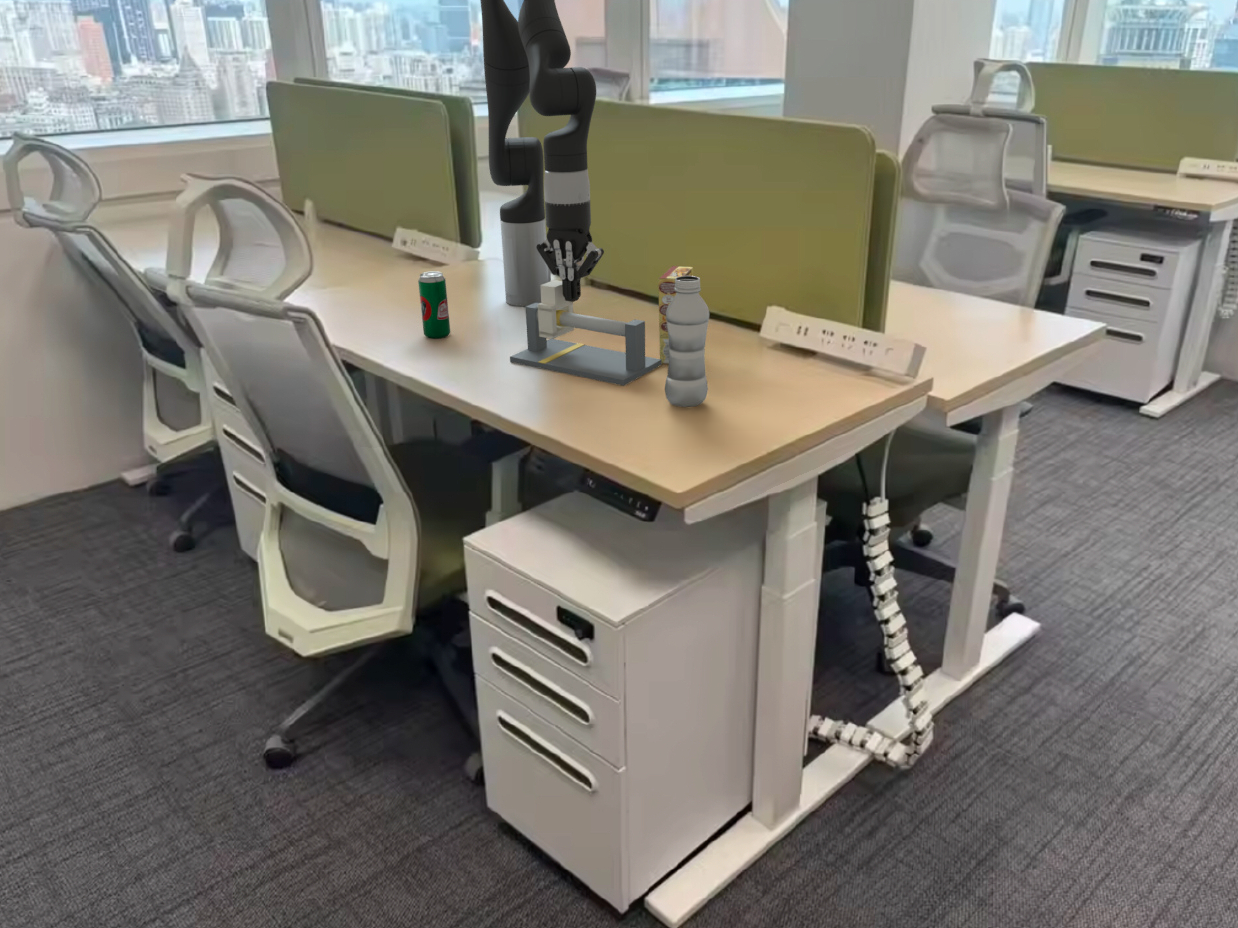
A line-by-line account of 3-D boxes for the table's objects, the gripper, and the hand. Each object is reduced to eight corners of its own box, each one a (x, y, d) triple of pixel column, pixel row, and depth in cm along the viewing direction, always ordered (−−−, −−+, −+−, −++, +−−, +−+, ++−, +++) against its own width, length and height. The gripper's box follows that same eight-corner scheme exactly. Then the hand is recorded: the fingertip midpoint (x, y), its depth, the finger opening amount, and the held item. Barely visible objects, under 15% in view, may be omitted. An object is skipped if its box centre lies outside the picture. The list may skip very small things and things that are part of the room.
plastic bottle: (662, 398, 160) (661, 274, 151) (704, 396, 160) (706, 272, 152) (667, 413, 154) (667, 285, 145) (711, 410, 154) (713, 283, 146)
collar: (560, 327, 180) (558, 278, 176) (573, 329, 178) (571, 280, 174) (539, 336, 175) (536, 286, 171) (553, 339, 174) (550, 288, 170)
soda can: (445, 340, 189) (439, 278, 184) (420, 339, 190) (413, 277, 185) (454, 332, 194) (448, 271, 189) (429, 331, 195) (423, 270, 190)
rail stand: (551, 343, 186) (548, 296, 182) (661, 365, 174) (661, 314, 170) (510, 362, 177) (506, 312, 173) (623, 385, 165) (622, 333, 161)
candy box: (681, 366, 173) (682, 279, 167) (658, 364, 175) (657, 277, 168) (693, 350, 181) (694, 266, 175) (671, 348, 182) (671, 265, 176)
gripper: (613, 197, 164) (616, 300, 172) (549, 191, 171) (554, 290, 178) (587, 205, 159) (591, 311, 166) (521, 198, 165) (528, 300, 173)
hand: (571, 300), depth 172 cm, fingers closed
